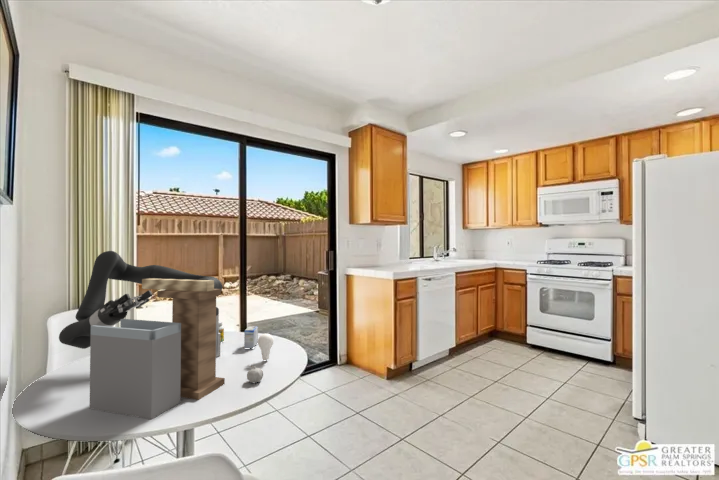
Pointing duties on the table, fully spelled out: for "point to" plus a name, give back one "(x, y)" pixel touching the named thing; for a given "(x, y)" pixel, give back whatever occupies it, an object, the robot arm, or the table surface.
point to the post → (196, 340)
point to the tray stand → (135, 367)
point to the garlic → (255, 374)
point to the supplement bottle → (221, 332)
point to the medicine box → (251, 337)
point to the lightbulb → (265, 345)
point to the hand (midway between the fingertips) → (140, 294)
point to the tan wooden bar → (178, 284)
